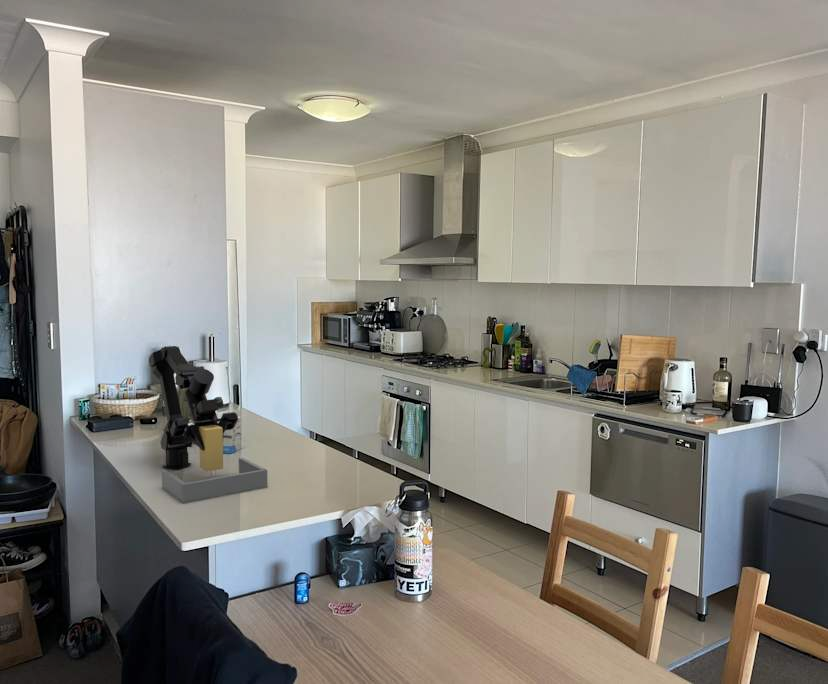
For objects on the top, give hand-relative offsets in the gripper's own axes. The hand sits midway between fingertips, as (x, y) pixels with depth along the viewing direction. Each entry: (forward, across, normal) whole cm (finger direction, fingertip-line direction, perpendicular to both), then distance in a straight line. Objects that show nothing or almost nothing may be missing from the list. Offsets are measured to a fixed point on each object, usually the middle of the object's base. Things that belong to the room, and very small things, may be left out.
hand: (212, 448), depth 199 cm
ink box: (-20, +22, +38) cm, 48 cm away
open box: (+9, 0, +8) cm, 12 cm away
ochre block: (+3, 0, +5) cm, 6 cm away
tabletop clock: (-50, +23, +69) cm, 88 cm away
